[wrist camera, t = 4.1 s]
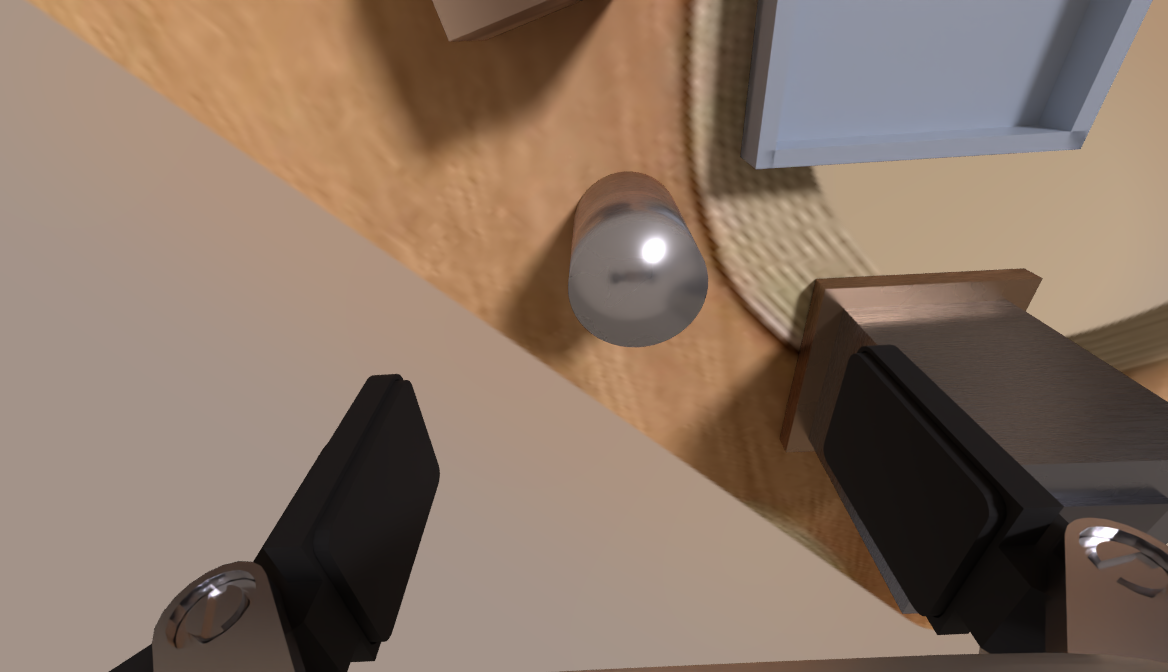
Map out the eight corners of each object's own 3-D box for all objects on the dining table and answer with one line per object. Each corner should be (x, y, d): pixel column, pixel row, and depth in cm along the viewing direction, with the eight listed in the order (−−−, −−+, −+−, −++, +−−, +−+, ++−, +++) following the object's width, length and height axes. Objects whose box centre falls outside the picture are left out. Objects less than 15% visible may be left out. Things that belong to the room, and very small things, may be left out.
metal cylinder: (680, 168, 19) (713, 217, 13) (675, 269, 21) (702, 344, 16) (570, 175, 19) (562, 226, 14) (577, 274, 21) (573, 349, 16)
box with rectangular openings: (1024, 268, 21) (1338, 437, 12) (944, 433, 26) (1120, 631, 17) (816, 279, 21) (973, 450, 12) (779, 438, 26) (871, 635, 18)
